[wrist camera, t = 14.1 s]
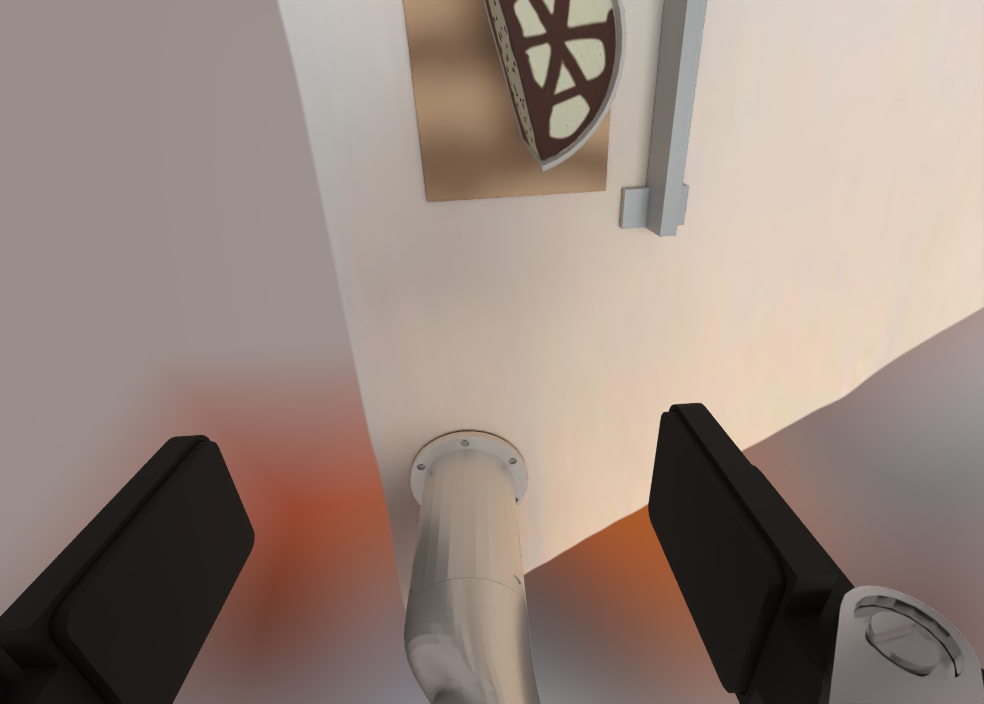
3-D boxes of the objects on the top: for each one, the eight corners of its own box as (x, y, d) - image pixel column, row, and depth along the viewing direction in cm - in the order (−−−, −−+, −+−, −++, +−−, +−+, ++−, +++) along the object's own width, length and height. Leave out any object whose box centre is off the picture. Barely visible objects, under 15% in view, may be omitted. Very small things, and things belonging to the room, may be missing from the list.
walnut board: (603, 189, 36) (605, 190, 36) (427, 200, 36) (427, 201, 35) (620, -120, 28) (623, -125, 27) (392, -107, 28) (390, -111, 27)
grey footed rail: (679, 222, 37) (701, 233, 34) (619, 226, 37) (634, 238, 34) (736, -198, 26) (777, -246, 23) (650, -193, 26) (678, -241, 23)
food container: (606, 132, 34) (653, 139, 25) (527, 161, 34) (545, 177, 25) (565, -77, 28) (608, -166, 19) (472, -38, 29) (471, -106, 20)
